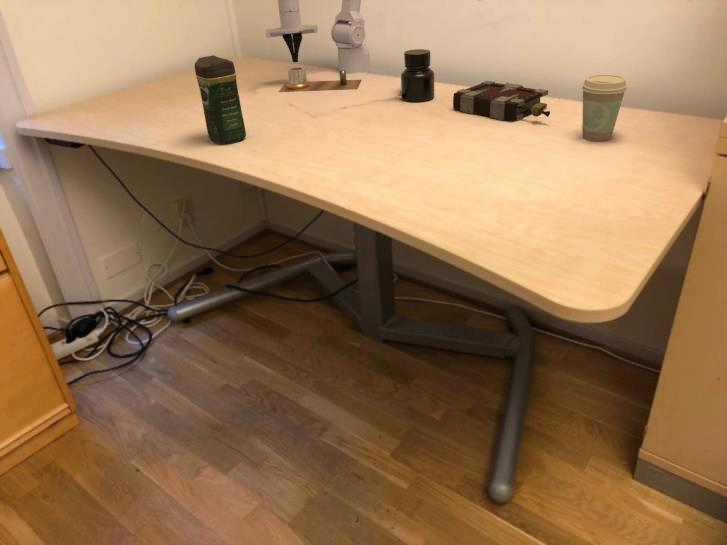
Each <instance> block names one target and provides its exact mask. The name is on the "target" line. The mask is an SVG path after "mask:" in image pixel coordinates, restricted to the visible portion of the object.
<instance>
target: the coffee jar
mask: <svg viewBox="0 0 727 545" xmlns="http://www.w3.org/2000/svg"><path fill="white" fill-rule="evenodd" d="M194 72H195V77H196V81H197V86H198V87H199V94H200V97H201V102H202V103H201V104H202V107H203V115H204V120H205V125H206V131H207V135H208V138H209V139H210V140H211V141H213V142H215V143H218V144H228V143H229V144H233V143H238V142H239V141H241V140H243V139H245V138H246V136H247V132H246V125H245V120H244V117H243V116H244V115H243V111H242V105H241V101H240V96H239V95H240V94H239V89H238V84H237V83H238V82H237V73H236V69H235V65H234V62H233V61H232V60H229V59H227V58H223V57H219V56H216V55H215V54H214V55H207V56H201V57H198V59H197V60H196V61H195V63H194Z"/></svg>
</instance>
